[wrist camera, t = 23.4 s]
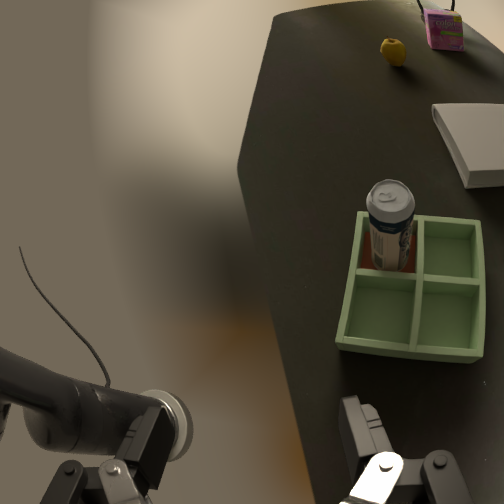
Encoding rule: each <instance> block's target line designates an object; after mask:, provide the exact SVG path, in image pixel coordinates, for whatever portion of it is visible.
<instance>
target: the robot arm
mask: <svg viewBox="0 0 504 504" xmlns="http://www.w3.org/2000/svg"><path fill="white" fill-rule="evenodd" d="M19 250H20V253H21V257H22V260H23V263H24V266H25V269H26V271H27V273H28V275H29V277H30V279H31V281H32V283H33V284H34V286H35V288H36V289H37V290H38V292H39V293H40V294H41V296H42V297H43V298H44V299H45V301H46V302H47V303H48V304H49V305H50V306H51V308H52V309H53V310H54V311H55V312H56V313H57V314H58V315H59V316H60V318H61V319H62V320H63V321H64V322H65V323H66V324H67V325H68V326H69V327H70V328H71V330H72V331H73V332H74V333H75V334H76V335H77V336H78V337H79V338H80V339H81V340H82V341H83V342H84V343H85V344H86V345H87V347H88V348H89V349H90V351H91V352H92V354H93V355H94V357H95V358H96V360H97V362H98V363H99V365H100V367H101V369H102V371H103V373H104V375H105V378H106V385H105V387H103V386H99V385H95V384H92V383H88V382H84V381H80V380H77V379H74V378H70V377H67V376H64V375H61V374H58V373H55V372H52V371H51V370H49V369H47V368H45V367H43V366H41V365H39V364H37V363H35V362H32V361H30V360H28V359H25V358H23V357H21V356H18V355H16V354H14V353H12V352H10V351H8V350H6V349H4V348H2V347H0V441H1V439H2V436H3V433H4V429H5V426H6V422H7V418H8V414H9V410H10V407H11V403H14V404H17V405H20V406H22V407H23V413H24V420H25V423H26V427H27V429H28V431H29V434H30V436H31V438H32V439H33V441H34V442H35V443H36V444H37V445H38V446H39V447H41V448H43V449H45V450H48V451H53V452H63V453H73V454H89V455H115V457H114V459H110V460H107V461H105V462H103V464H102V465H101V466H100V467H86V468H84V467H83V466H82V464H81V463H80V462H78V461H76V460H68V461H65V462H64V463H62V464H61V465H60V466H59V468H58V470H57V472H56V474H55V476H54V477H53V479H52V481H51V483H50V485H49V487H48V489H47V491H46V493H45V495H44V496H43V498H42V500H41V502H40V504H152V502H151V500H150V498H149V496H148V494H147V493H148V490H149V489H155V490H158V487H159V483H160V481H161V478H162V474H163V471H164V468H165V465H166V462H167V459H168V456H169V453H170V450H171V449H172V448H173V447H174V445H175V444H176V442H177V439H178V435H179V424H178V419H177V416H176V414H175V412H174V410H173V409H172V407H171V406H170V405H169V404H168V403H167V402H166V401H164V400H162V399H160V398H156V397H147V396H142V395H138V394H133V393H128V392H124V391H119V390H115V389H111V388H110V383H111V381H110V378H109V375H108V372H107V370H106V368H105V366H104V364H103V363H102V361H101V359H100V358H99V356H98V355H97V353H96V352H95V350H94V349H93V347H92V346H91V345H90V344H89V342H88V341H87V340H86V339H85V338H84V337H83V336H82V335H81V334H80V333H78V331H77V330H76V329H75V328H74V327H73V326H72V325H71V324H70V323H69V322H68V321H67V319H66V318H65V317H64V316H63V315H62V314H61V313H60V312H59V311H58V310H57V309H56V308H55V307H54V306H53V304H52V303H51V302H50V301H49V300H48V299H47V298H46V296H45V295H44V294H43V293H42V292H41V290H40V289H39V288H38V286H37V285H36V283H35V282H34V280H33V278H32V277H31V275H30V273H29V271H28V268H27V266H26V264H25V261H24V257H23V254H22V251H21V247H20V246H19ZM338 425H339V432H340V436H341V440H342V444H343V448H344V452H345V456H346V460H347V465H348V469H349V473H350V477H351V482H352V486H354V488H353V490H352V491H351V493H350V494H349V495H348V496H347V497H345V498H344V499H343V500H342V501H341V503H340V504H386V503H398V502H408V504H474V501H473V499H472V496H471V494H470V492H469V489H468V487H467V484H466V482H465V480H464V477H463V475H462V473H461V470H460V468H459V466H458V464H457V462H456V459H455V457H454V456H453V454H452V453H450V452H449V451H446V450H435V451H432V452H431V453H429V454H428V455H427V456H426V457H425V458H424V459H405V458H402V457H400V456H399V455H398V454H396V453H395V452H394V451H393V449H392V447H391V444H390V442H389V439H388V437H387V434H386V432H385V429H384V427H383V425H382V422H381V420H380V417H379V415H378V413H377V410H376V409H375V408H373V407H372V406H371V405H370V404H365V405H361V404H360V402H359V399H358V397H357V395H354V396H349V397H343V398H340V405H339V419H338Z"/></svg>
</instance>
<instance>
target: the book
mask: <svg viewBox="0 0 504 504" xmlns="http://www.w3.org/2000/svg"><path fill="white" fill-rule="evenodd" d="M432 116H433V119H434V122H435V124H436V126H437V128H438V130H439V132H440V133H441V135H442V137H443V139H444V141H445V143H446V146H447V148H448V150H449V152H450V154H451V156H452V158H453V160H454V163H455V165H456V167H457V170H458V172H459V174H460V177H461V179H462V181H463V184H464V186H465V189H467V188H482V187H498V186H504V104H434V105H432Z"/></svg>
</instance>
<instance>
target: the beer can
mask: <svg viewBox="0 0 504 504" xmlns="http://www.w3.org/2000/svg"><path fill="white" fill-rule="evenodd" d="M367 208H368V214H369V224H370V236H371V249H372V253H371V258H372V262H373V264H374V266H375V267H376V268H377V269H378V270H381V271H392V272H398V271H400V270H401V269H403V268H404V267H405V265H406V263H407V261H408V257H409V250H410V243H411V236H412V228H413V219H414V209H415V201H414V198H413V195H412V193H411V192H410V191H409V189H408V188H407V187H406V186H405V185H404V184H402V183H401V182H400V181H395V180H388V179H387V180H384V181H382V182H379V183H376V184H375V186H374V187H373V189H372V190H371V191H370V193H369V194H368V196H367Z"/></svg>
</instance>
